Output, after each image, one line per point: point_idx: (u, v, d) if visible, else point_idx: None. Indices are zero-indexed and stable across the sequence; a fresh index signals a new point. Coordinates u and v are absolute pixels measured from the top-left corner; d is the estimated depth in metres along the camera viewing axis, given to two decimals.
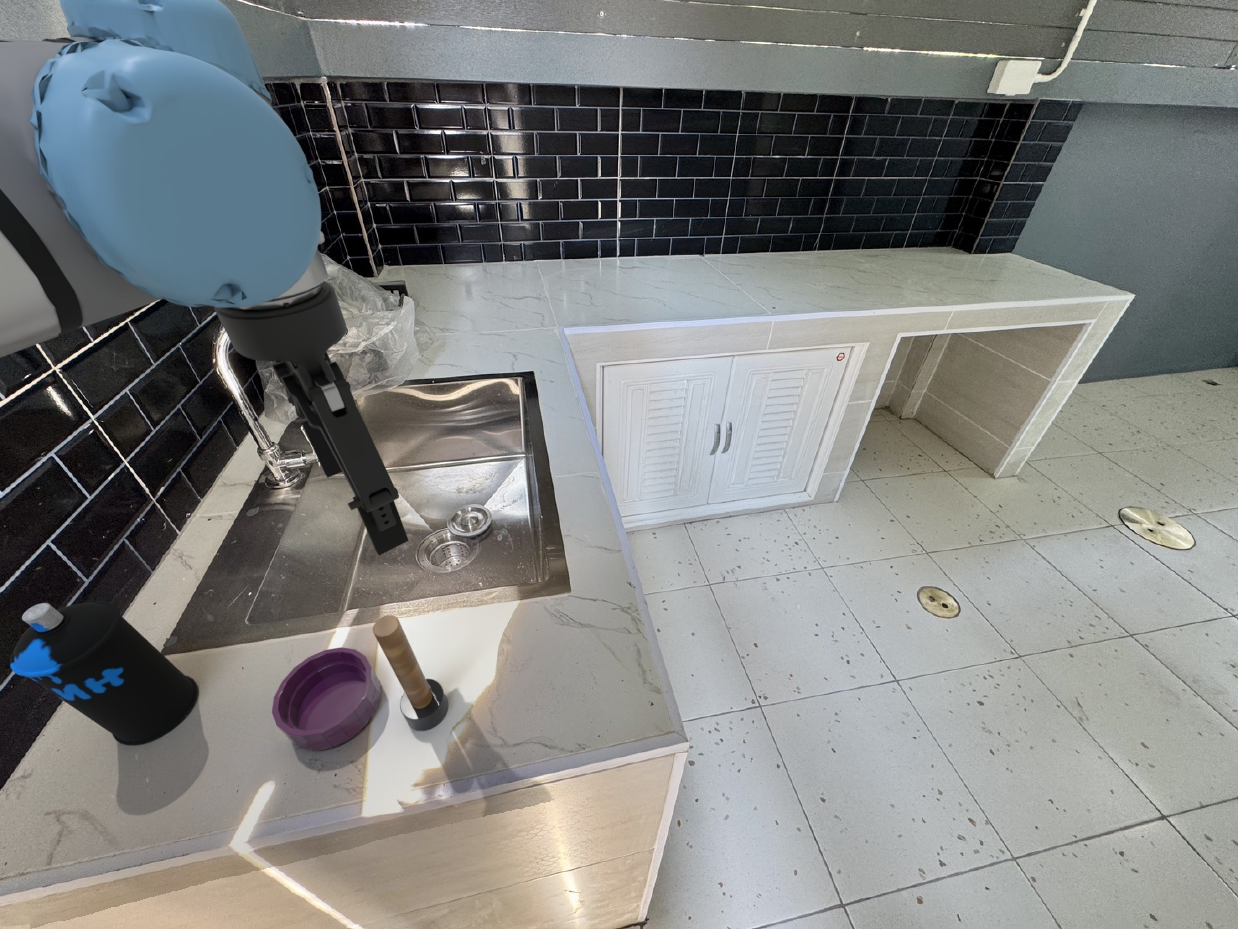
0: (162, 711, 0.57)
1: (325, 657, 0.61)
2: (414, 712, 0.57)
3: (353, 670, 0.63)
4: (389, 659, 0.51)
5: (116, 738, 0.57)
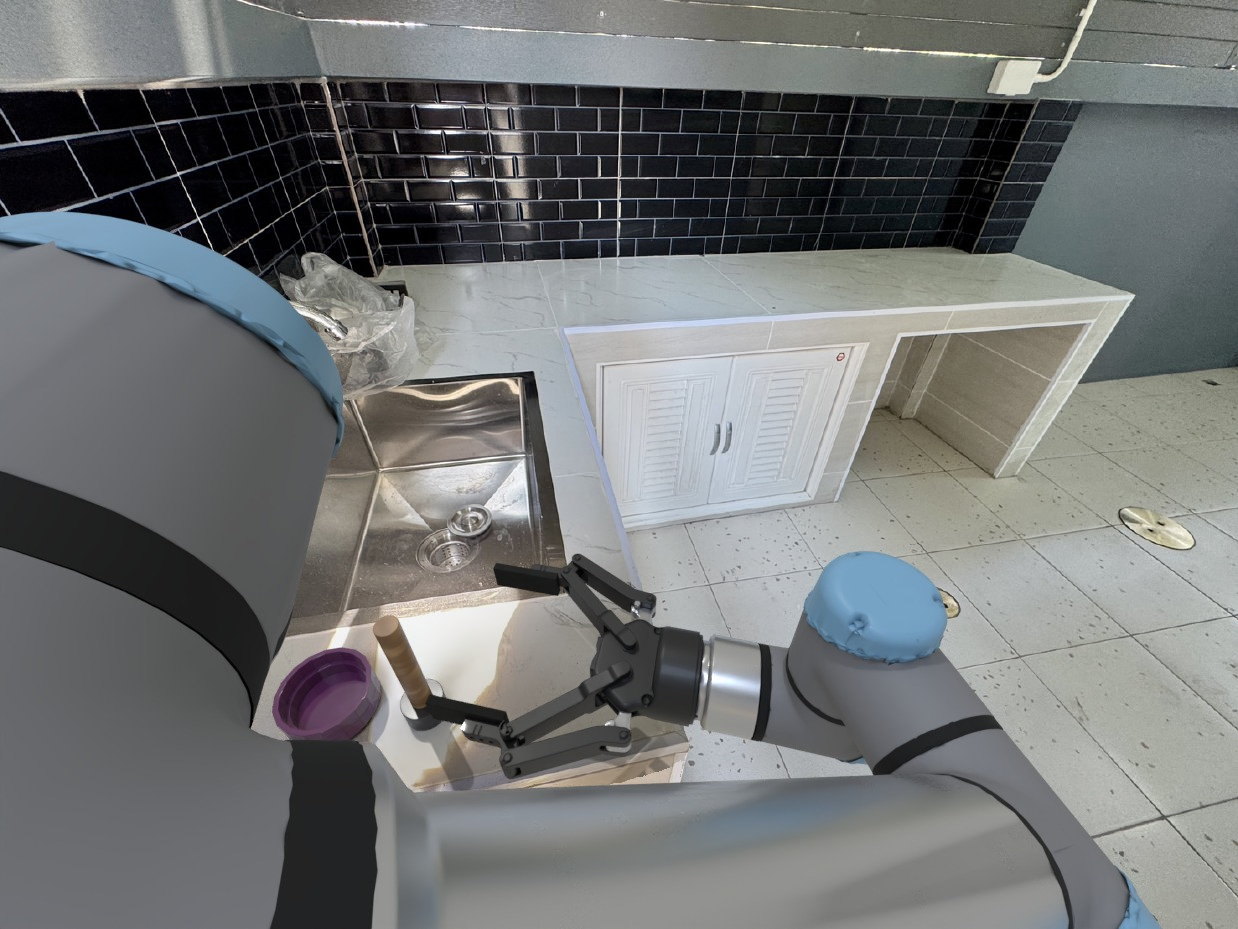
0: None
1: (325, 657, 0.61)
2: (414, 712, 0.57)
3: (353, 670, 0.63)
4: (389, 659, 0.51)
5: None
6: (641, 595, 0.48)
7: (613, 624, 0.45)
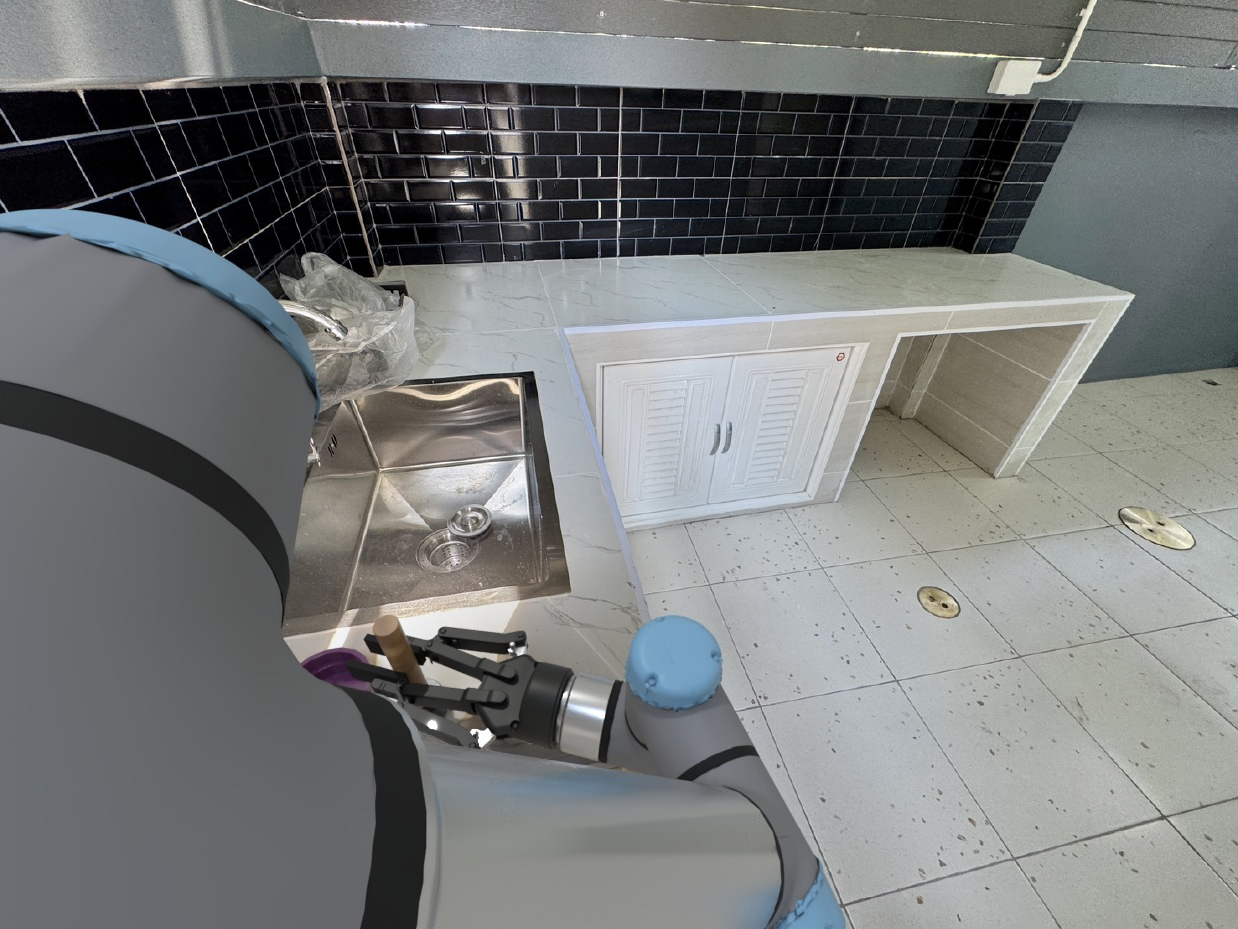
0: None
1: (325, 657, 0.61)
2: None
3: None
4: (389, 659, 0.51)
5: None
6: (512, 636, 0.56)
7: (491, 667, 0.52)
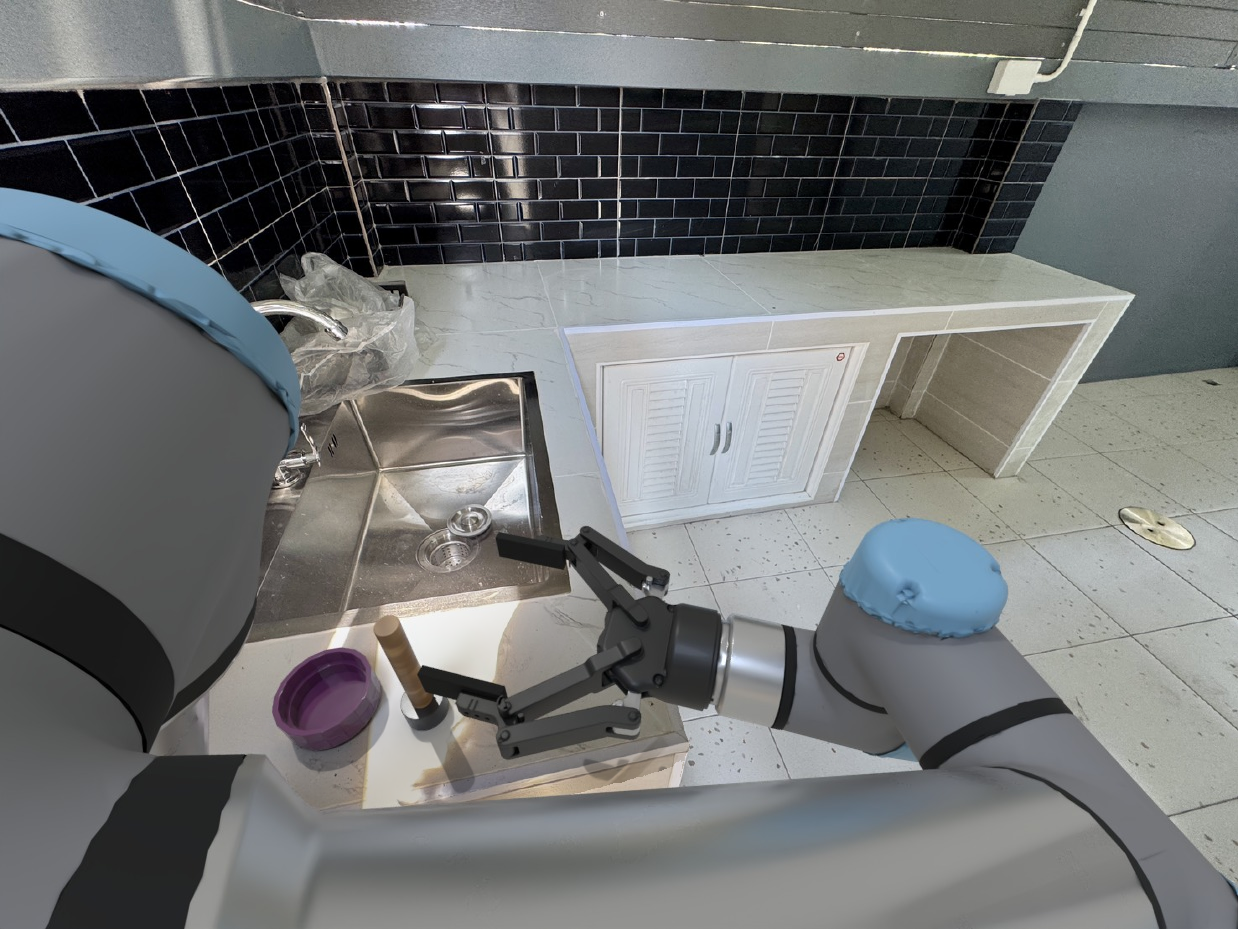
0: None
1: (325, 657, 0.61)
2: (414, 712, 0.57)
3: (353, 670, 0.63)
4: (390, 659, 0.51)
5: None
6: (653, 570, 0.44)
7: (623, 599, 0.41)
